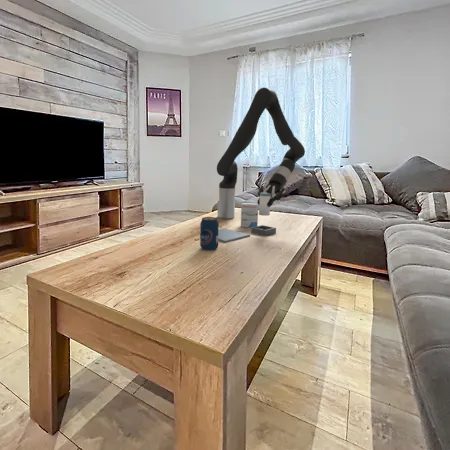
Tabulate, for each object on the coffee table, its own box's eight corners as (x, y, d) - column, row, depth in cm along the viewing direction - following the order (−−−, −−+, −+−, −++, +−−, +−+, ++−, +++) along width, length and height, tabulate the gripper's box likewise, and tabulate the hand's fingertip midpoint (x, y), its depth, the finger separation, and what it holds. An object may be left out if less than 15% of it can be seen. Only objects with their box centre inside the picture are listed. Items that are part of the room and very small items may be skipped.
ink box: (257, 225, 164) (258, 203, 162) (257, 227, 159) (258, 204, 157) (241, 224, 165) (241, 202, 163) (240, 226, 160) (241, 204, 158)
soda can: (196, 249, 119) (197, 219, 117) (205, 245, 126) (205, 216, 123) (213, 252, 117) (213, 220, 114) (221, 247, 123) (221, 217, 120)
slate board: (199, 235, 141) (199, 233, 141) (224, 230, 152) (224, 228, 152) (225, 242, 130) (225, 240, 130) (250, 236, 141) (250, 234, 141)
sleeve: (251, 232, 148) (251, 227, 148) (262, 229, 154) (262, 225, 154) (265, 235, 143) (265, 230, 142) (275, 233, 149) (276, 227, 148)
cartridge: (256, 214, 147) (257, 193, 145) (263, 213, 150) (264, 192, 148) (265, 216, 143) (266, 194, 141) (271, 214, 147) (273, 193, 145)
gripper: (265, 171, 153) (248, 197, 147) (290, 173, 144) (273, 201, 138) (270, 181, 158) (254, 207, 152) (295, 184, 148) (279, 212, 143)
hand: (263, 204), depth 145 cm, fingers closed on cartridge, 5 cm apart
